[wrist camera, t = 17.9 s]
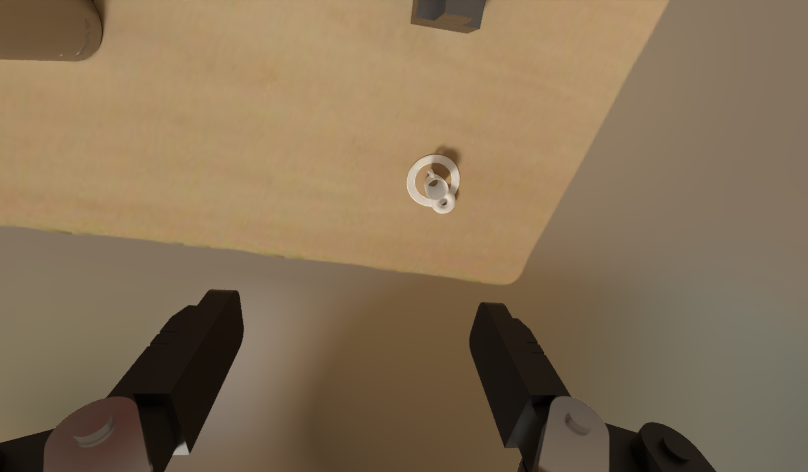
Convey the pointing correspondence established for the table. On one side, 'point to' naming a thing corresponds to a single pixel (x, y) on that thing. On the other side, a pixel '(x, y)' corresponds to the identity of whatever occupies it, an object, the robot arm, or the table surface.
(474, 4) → the gray metal t-shaped block
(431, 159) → the teacup and saucer
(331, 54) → the table surface
